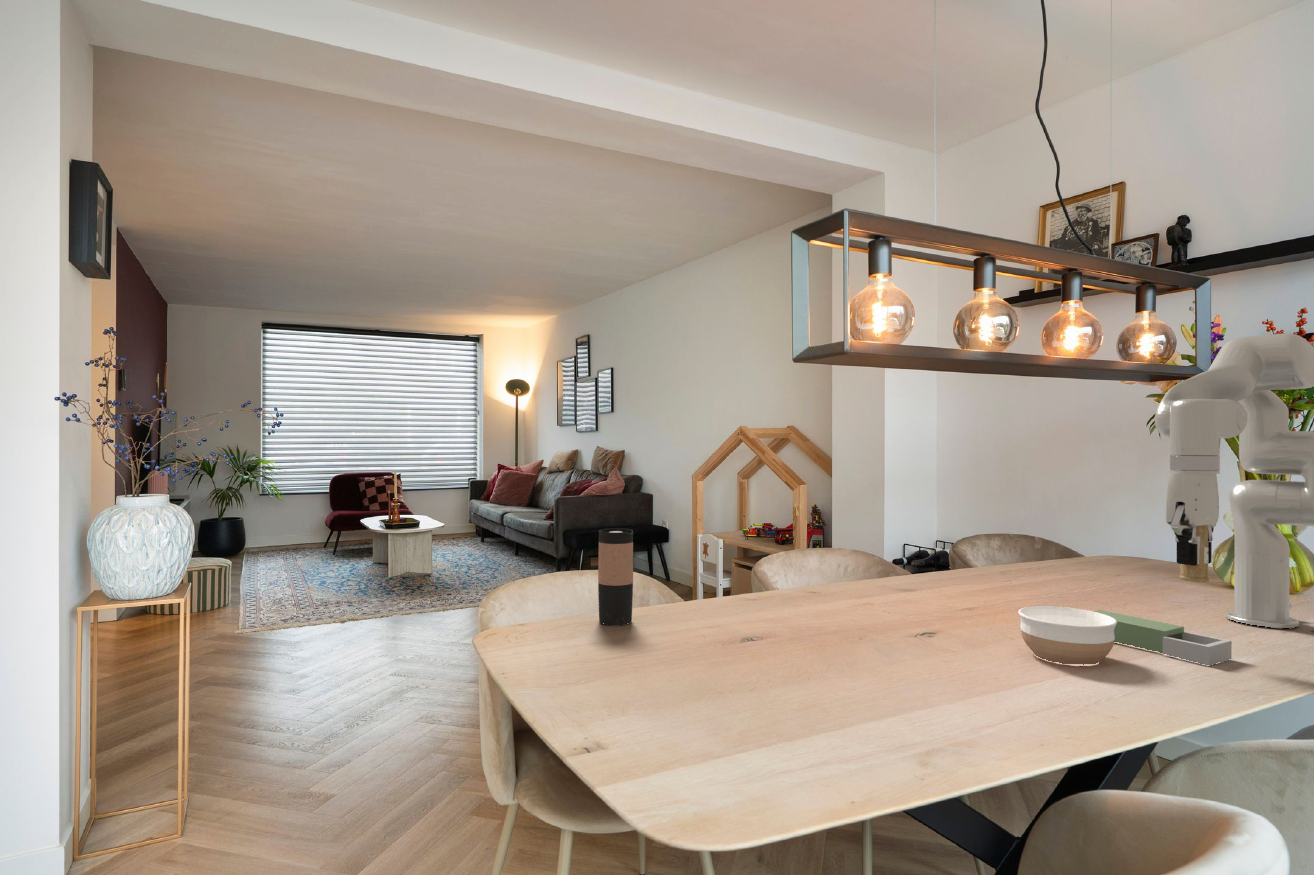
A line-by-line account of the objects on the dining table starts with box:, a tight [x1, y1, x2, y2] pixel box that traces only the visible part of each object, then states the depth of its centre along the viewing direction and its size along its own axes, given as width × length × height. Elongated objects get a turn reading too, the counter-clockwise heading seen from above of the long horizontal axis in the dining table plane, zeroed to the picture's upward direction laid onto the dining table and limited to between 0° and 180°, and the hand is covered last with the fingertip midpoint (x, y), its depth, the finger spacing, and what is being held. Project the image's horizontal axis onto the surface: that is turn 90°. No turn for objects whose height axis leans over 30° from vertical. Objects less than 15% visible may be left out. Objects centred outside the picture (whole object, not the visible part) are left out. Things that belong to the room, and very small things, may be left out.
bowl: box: [1017, 605, 1117, 665], centre depth 137 cm, size 16×16×8 cm
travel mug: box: [597, 528, 634, 626], centre depth 162 cm, size 8×8×20 cm
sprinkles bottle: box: [1178, 517, 1210, 583], centre depth 138 cm, size 5×5×14 cm
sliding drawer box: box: [1092, 609, 1233, 666], centre depth 144 cm, size 8×24×4 cm, turn 30°
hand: (1194, 562), depth 138 cm, fingers closed on sprinkles bottle, 4 cm apart
